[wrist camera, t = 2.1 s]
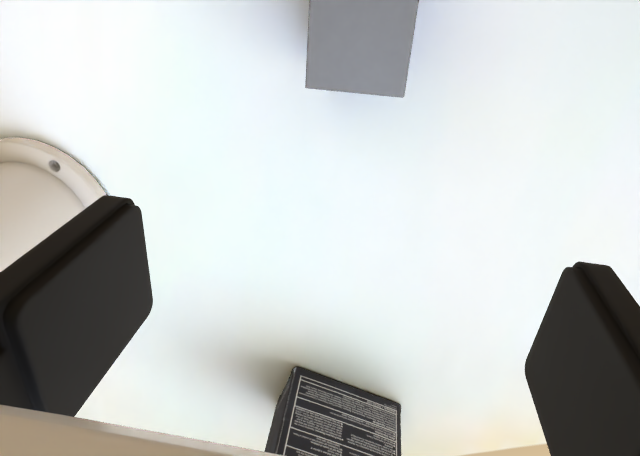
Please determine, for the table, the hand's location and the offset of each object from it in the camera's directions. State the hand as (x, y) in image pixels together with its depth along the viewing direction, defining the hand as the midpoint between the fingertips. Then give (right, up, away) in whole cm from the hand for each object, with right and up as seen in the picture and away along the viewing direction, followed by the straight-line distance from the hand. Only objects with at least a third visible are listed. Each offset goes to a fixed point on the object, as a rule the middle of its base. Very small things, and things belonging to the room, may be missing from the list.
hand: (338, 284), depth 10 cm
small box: (+1, -15, +33) cm, 36 cm away
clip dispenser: (+2, +14, +16) cm, 22 cm away
